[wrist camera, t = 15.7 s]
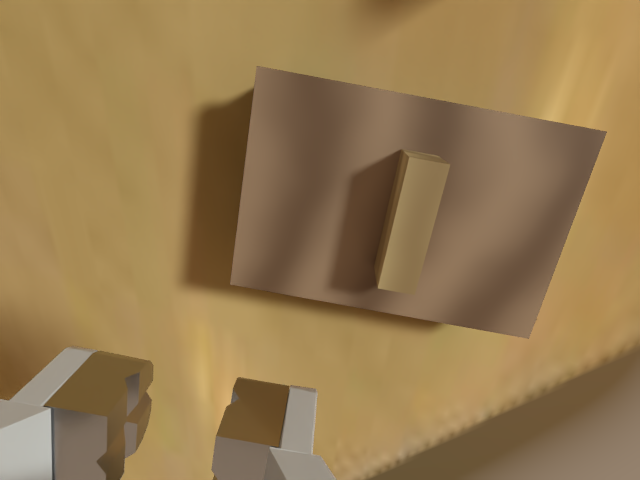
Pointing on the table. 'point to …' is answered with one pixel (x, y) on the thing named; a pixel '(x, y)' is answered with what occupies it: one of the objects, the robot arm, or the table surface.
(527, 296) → the lid
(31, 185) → the table surface
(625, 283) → the table surface
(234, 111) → the table surface
